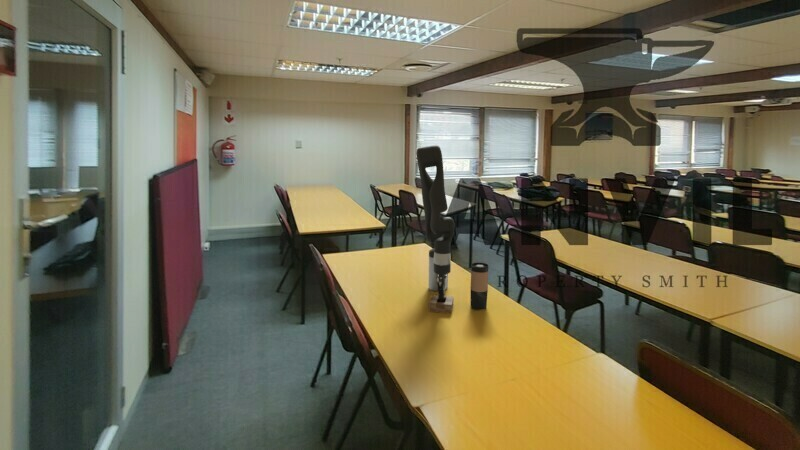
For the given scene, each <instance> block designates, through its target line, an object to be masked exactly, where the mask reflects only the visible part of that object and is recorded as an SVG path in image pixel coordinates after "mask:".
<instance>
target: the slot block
mask: <svg viewBox="0 0 800 450" xmlns="http://www.w3.org/2000/svg"><path fill="white" fill-rule="evenodd" d="M454 297H455V296H450V295H445V300H444V302H438V294H431V296H430V299H429V302H428V312H430V313H443V314H452V312H453V309H454V302H455V300H454V299H455V298H454Z"/></svg>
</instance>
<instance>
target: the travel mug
mask: <svg viewBox="0 0 800 450" xmlns="http://www.w3.org/2000/svg"><path fill="white" fill-rule="evenodd" d="M470 266H471V267H470V308H471V309H472V310H476V311H481V310H482V311H484V310H486V309H487V305H488V292H489V291H488V290H489V287H488V286H489V264H487V263H485V262H473V263H471V265H470Z"/></svg>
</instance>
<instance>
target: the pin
mask: <svg viewBox="0 0 800 450" xmlns="http://www.w3.org/2000/svg"><path fill="white" fill-rule="evenodd" d="M440 290H442V289H440ZM437 293H438V294H437V295H438V302H444V300H445V296H446V291H445V288H444V300H439V292H438V291H437Z"/></svg>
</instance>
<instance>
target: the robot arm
mask: <svg viewBox="0 0 800 450" xmlns="http://www.w3.org/2000/svg"><path fill="white" fill-rule="evenodd" d="M442 154H443V153H442V150H441V147H440V146H439V145H438V144H435V145H429V146H422V147H418V148H417V149H416V163H417V166H418V167H417V168H418V173H419V179H420V186H421V187H420V188H421V197H422V204H423V205H422V206H423V211H424V212H423V213H424V222H425V224H424V225H425V227H424V229H425V239H426V241H427V242H428V243H431V244H434V248H432V249H429V250H428V290H430V291H433V292H437V293H438V292H439V300H444V288H445V290H447V289H448V288H449V287H448V286H449V283H448V282H449V274H450V273H451V272H452V271H451V266H452V264H451V261H452V258H451V257H452V255H451V243H452V239H453V236H454V232H455V229H456V224H455V221H454V219H453V217H452V216H451V217H450V216H445V217H441V214H442V213H444V212H447V211H448V202H447V195H446V191H445V190H446V189H445V173H444V162H443V155H442ZM433 167H436V169H435V170H436V173H435V177H434V179H433V178H432V177H431V175H430V174H429V173H428V171H427V168H433ZM440 289H442V290H440Z"/></svg>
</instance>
